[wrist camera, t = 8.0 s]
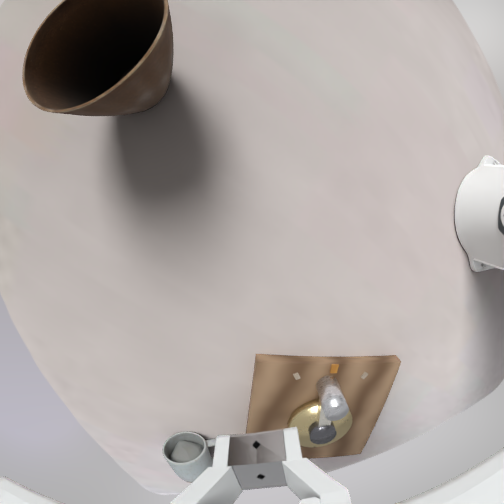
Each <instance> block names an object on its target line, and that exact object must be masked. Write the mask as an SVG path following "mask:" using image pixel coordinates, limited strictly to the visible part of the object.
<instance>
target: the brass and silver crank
mask: <svg viewBox="0 0 504 504" xmlns="http://www.w3.org/2000/svg"><path fill="white" fill-rule="evenodd" d="M316 389H317V392H318V395H319V398H318V399H314V400H311V401H308V402H306V403H304V404H302V405H301V406H299V407H298V408H296V409H295V410H294V411H293V412H292V414H291V415H290V417H289V419H288V428H291V427H297V429H298V435H299V441H300V446H304V447H321V446H325V445H328V444H331V443H333V442H335V441H337V440H339V439H340V438H341V437H343V436H344V435H345V434H346V433H347V432H348V430H349V429H350V427H351V425H352V415H351V412H350V410H349V407H348V405H347V403H346V400H345V398H344V395H343V393H342V391H341V388H340V386H339V384H338V381H337V379H336V378H335V377H334V376H324V377H322V378H320V379H319V380H318V382H317V383H316Z"/></svg>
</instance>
